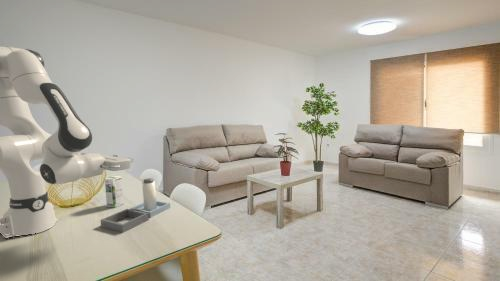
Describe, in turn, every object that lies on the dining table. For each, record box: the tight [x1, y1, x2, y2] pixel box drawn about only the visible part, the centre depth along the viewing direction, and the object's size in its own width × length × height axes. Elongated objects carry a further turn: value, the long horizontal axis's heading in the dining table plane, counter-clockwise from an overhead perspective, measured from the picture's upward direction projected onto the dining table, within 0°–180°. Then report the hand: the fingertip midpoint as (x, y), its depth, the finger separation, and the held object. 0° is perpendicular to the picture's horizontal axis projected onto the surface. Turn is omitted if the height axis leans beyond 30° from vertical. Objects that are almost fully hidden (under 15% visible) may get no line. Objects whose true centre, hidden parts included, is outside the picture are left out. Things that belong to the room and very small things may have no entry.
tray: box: [129, 200, 171, 218], centre depth 128 cm, size 13×13×2 cm
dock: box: [100, 208, 150, 234], centre depth 114 cm, size 13×13×3 cm
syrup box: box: [104, 175, 125, 208], centre depth 135 cm, size 6×6×14 cm
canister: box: [141, 177, 157, 211], centre depth 127 cm, size 6×6×14 cm
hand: (124, 158), depth 114 cm, fingers open, 8 cm apart
